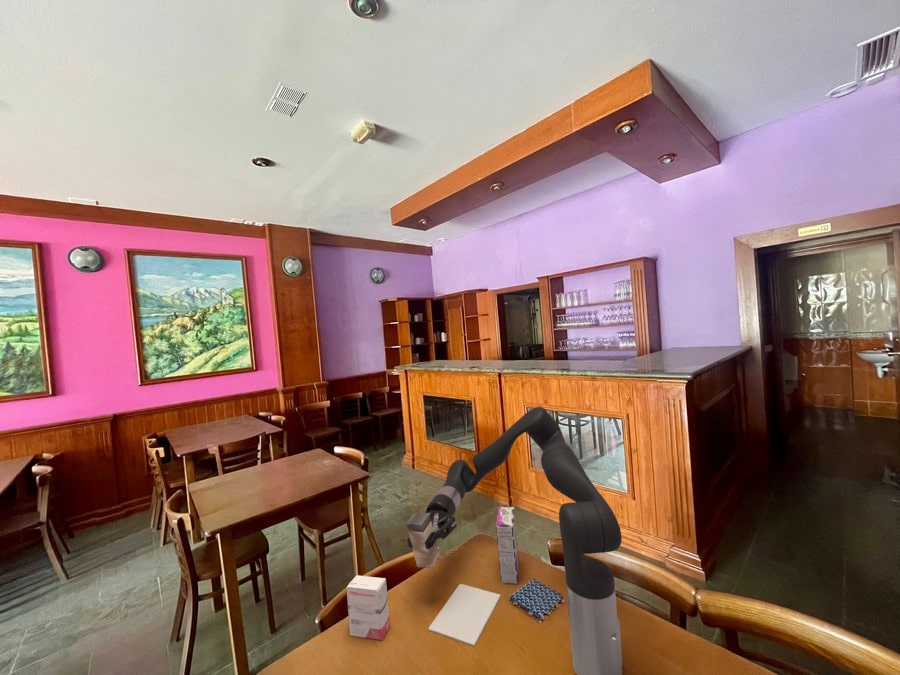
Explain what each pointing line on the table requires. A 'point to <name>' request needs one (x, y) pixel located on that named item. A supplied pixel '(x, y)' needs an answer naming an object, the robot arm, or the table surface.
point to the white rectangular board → (465, 614)
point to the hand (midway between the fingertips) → (418, 545)
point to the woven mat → (536, 600)
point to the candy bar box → (507, 545)
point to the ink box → (368, 607)
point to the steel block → (422, 540)
